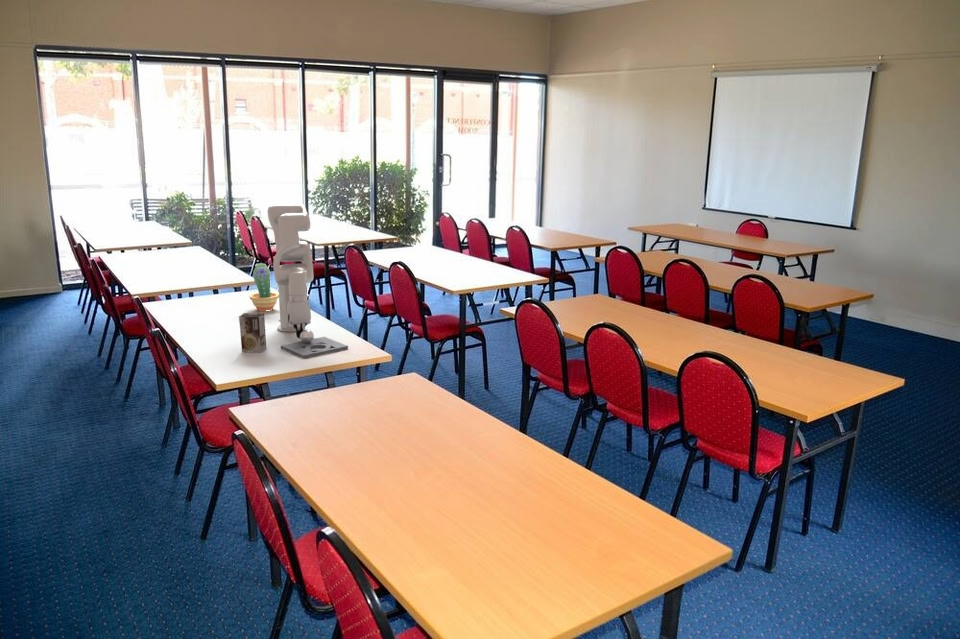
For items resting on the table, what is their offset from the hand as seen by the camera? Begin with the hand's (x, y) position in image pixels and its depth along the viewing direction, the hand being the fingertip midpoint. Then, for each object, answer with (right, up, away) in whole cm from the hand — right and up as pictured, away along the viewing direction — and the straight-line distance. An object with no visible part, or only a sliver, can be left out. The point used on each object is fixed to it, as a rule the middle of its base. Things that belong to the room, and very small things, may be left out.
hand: (300, 337), depth 332 cm
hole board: (+8, -5, -8) cm, 12 cm away
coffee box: (-17, -5, -11) cm, 21 cm away
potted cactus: (-34, +13, +62) cm, 72 cm away
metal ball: (+4, +1, -4) cm, 6 cm away
